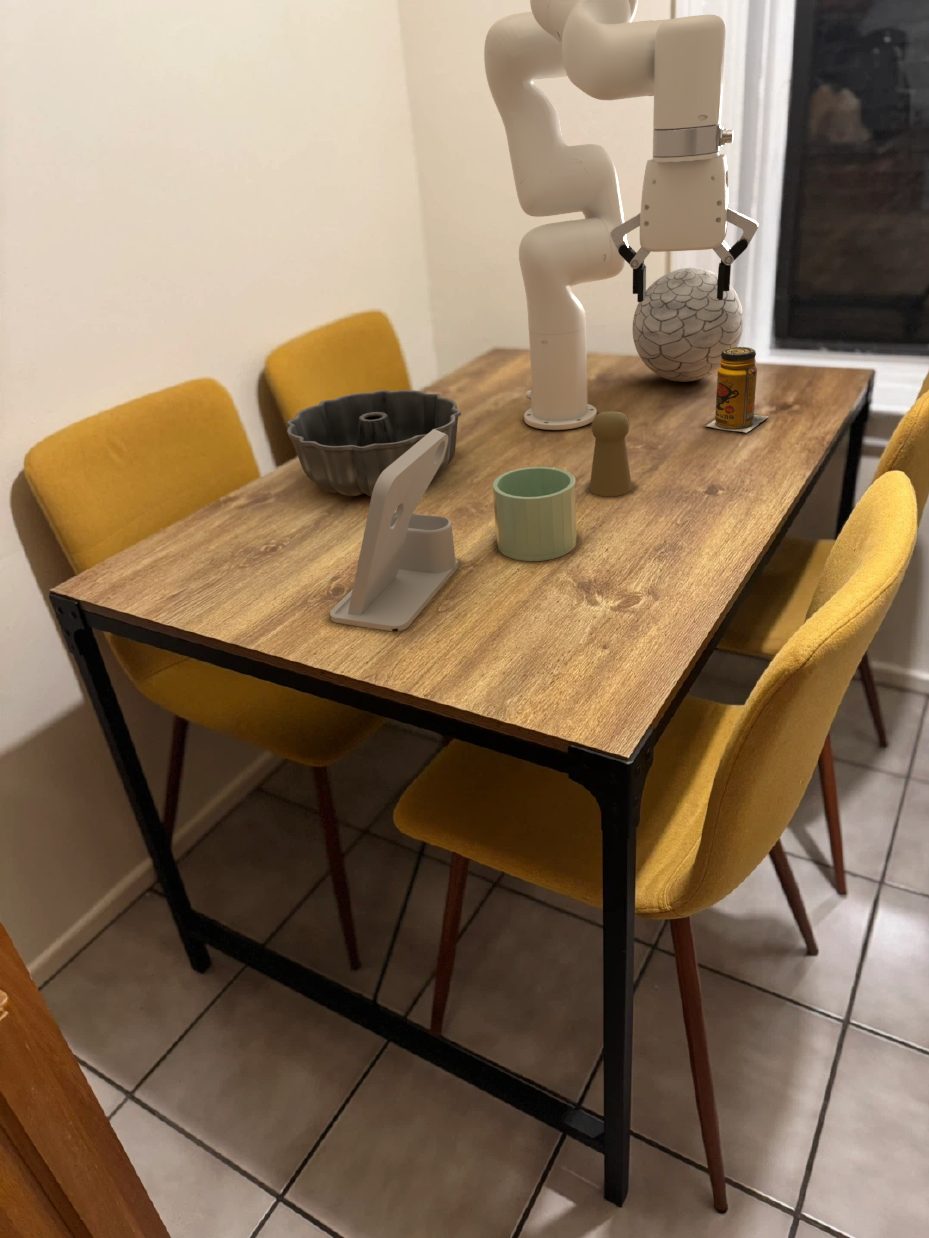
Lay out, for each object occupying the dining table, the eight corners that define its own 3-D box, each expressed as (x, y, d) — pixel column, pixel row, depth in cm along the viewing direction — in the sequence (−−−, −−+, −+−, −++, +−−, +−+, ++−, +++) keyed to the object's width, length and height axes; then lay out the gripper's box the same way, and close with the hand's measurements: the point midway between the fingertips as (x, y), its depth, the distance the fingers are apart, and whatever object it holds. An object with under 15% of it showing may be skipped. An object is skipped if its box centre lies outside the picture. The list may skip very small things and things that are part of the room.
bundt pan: (492, 453, 145) (487, 392, 139) (417, 520, 125) (409, 452, 119) (353, 441, 155) (344, 385, 150) (264, 502, 135) (250, 439, 130)
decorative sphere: (673, 359, 181) (676, 255, 171) (760, 374, 168) (769, 261, 157) (610, 385, 170) (610, 275, 160) (698, 402, 157) (704, 283, 147)
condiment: (704, 427, 146) (708, 353, 140) (728, 412, 151) (732, 340, 145) (746, 434, 142) (752, 358, 136) (769, 418, 147) (775, 344, 141)
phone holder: (393, 553, 116) (374, 420, 107) (464, 562, 112) (450, 424, 103) (326, 621, 103) (297, 475, 93) (404, 633, 99) (383, 482, 90)
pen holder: (483, 540, 117) (477, 480, 113) (547, 519, 121) (544, 460, 117) (524, 569, 109) (521, 505, 105) (592, 545, 113) (591, 483, 109)
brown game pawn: (631, 496, 125) (631, 421, 119) (587, 496, 126) (586, 421, 121) (632, 479, 130) (633, 406, 124) (591, 480, 131) (590, 407, 126)
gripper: (764, 136, 103) (752, 290, 112) (615, 148, 108) (615, 294, 117) (764, 141, 97) (752, 303, 106) (606, 153, 102) (606, 307, 111)
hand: (680, 298), depth 111 cm, fingers open, 9 cm apart
